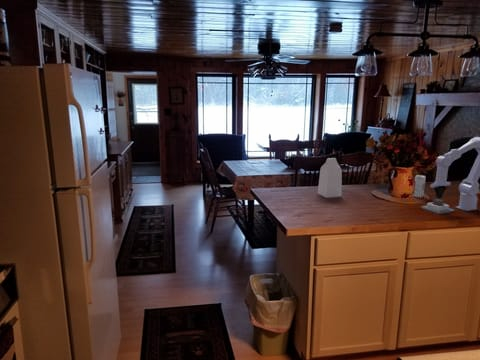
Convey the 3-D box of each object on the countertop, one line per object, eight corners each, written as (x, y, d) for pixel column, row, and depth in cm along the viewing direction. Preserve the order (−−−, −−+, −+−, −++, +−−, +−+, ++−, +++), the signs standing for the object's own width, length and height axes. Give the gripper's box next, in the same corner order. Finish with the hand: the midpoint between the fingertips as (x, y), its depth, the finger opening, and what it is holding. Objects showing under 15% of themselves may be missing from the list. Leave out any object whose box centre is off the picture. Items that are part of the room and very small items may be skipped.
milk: (332, 192, 264) (334, 156, 259) (341, 196, 254) (343, 159, 248) (317, 193, 261) (319, 157, 255) (326, 197, 250) (328, 160, 244)
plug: (436, 206, 226) (437, 199, 225) (442, 208, 223) (443, 200, 221) (432, 207, 225) (433, 199, 223) (438, 209, 221) (439, 201, 220)
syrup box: (414, 194, 257) (416, 174, 254) (423, 196, 254) (426, 175, 250) (412, 196, 253) (414, 176, 250) (421, 198, 249) (423, 177, 246)
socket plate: (435, 205, 232) (436, 200, 231) (454, 211, 220) (455, 205, 220) (420, 208, 227) (421, 202, 226) (439, 214, 215) (439, 208, 215)
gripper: (444, 173, 225) (441, 195, 228) (427, 175, 220) (424, 197, 223) (454, 176, 219) (451, 198, 222) (437, 178, 214) (434, 200, 217)
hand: (438, 198), depth 222 cm, fingers closed
